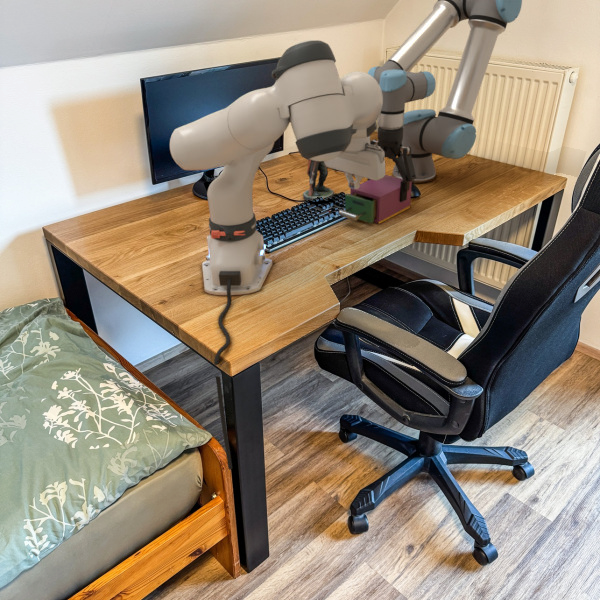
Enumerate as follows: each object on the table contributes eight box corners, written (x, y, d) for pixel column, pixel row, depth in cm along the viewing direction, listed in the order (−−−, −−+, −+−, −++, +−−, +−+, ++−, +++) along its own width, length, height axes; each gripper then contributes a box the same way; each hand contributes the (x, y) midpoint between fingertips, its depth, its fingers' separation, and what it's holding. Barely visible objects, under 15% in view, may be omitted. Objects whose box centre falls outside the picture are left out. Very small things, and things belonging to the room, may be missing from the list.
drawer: (359, 229, 165) (360, 208, 161) (333, 220, 171) (333, 200, 168) (400, 208, 177) (401, 188, 173) (374, 200, 183) (375, 181, 180)
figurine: (331, 204, 184) (330, 110, 168) (299, 202, 186) (296, 110, 170) (336, 192, 193) (335, 102, 177) (306, 191, 195) (303, 102, 179)
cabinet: (378, 223, 170) (379, 197, 165) (350, 214, 177) (350, 188, 172) (410, 207, 180) (411, 181, 175) (381, 199, 187) (382, 173, 182)
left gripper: (391, 144, 152) (389, 193, 159) (334, 131, 164) (335, 177, 172) (377, 150, 148) (375, 199, 156) (320, 136, 161) (321, 183, 168)
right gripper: (432, 130, 162) (425, 201, 173) (367, 117, 176) (365, 184, 188) (417, 136, 157) (411, 209, 169) (351, 122, 172) (350, 190, 183)
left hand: (353, 187), depth 164 cm, fingers closed
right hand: (387, 196), depth 178 cm, fingers closed on cabinet, 11 cm apart
